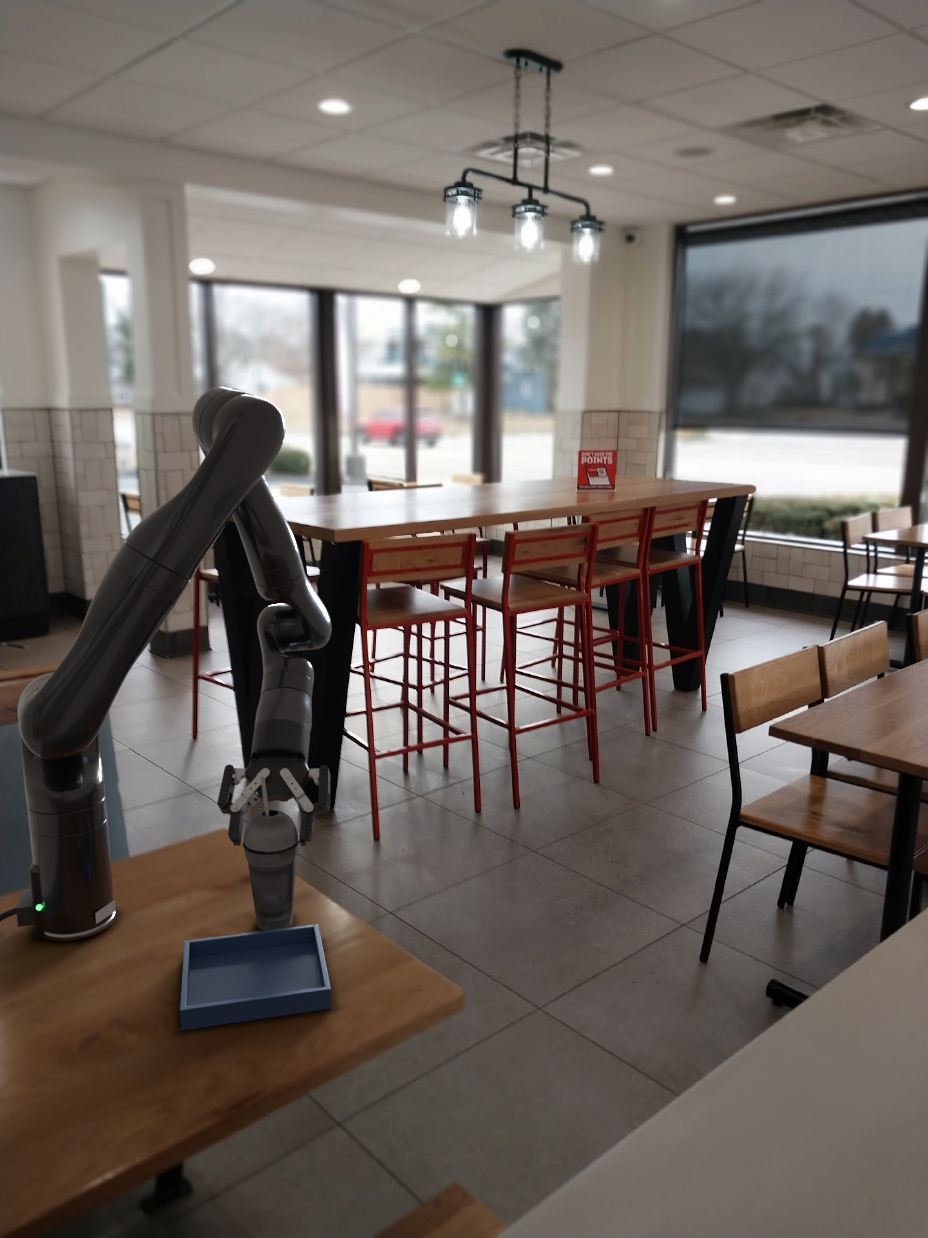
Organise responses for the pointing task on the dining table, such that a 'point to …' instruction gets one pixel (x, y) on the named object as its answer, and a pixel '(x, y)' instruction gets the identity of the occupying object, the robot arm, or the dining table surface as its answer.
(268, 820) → the beverage cup
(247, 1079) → the dining table surface
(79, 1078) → the dining table surface
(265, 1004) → the tray
